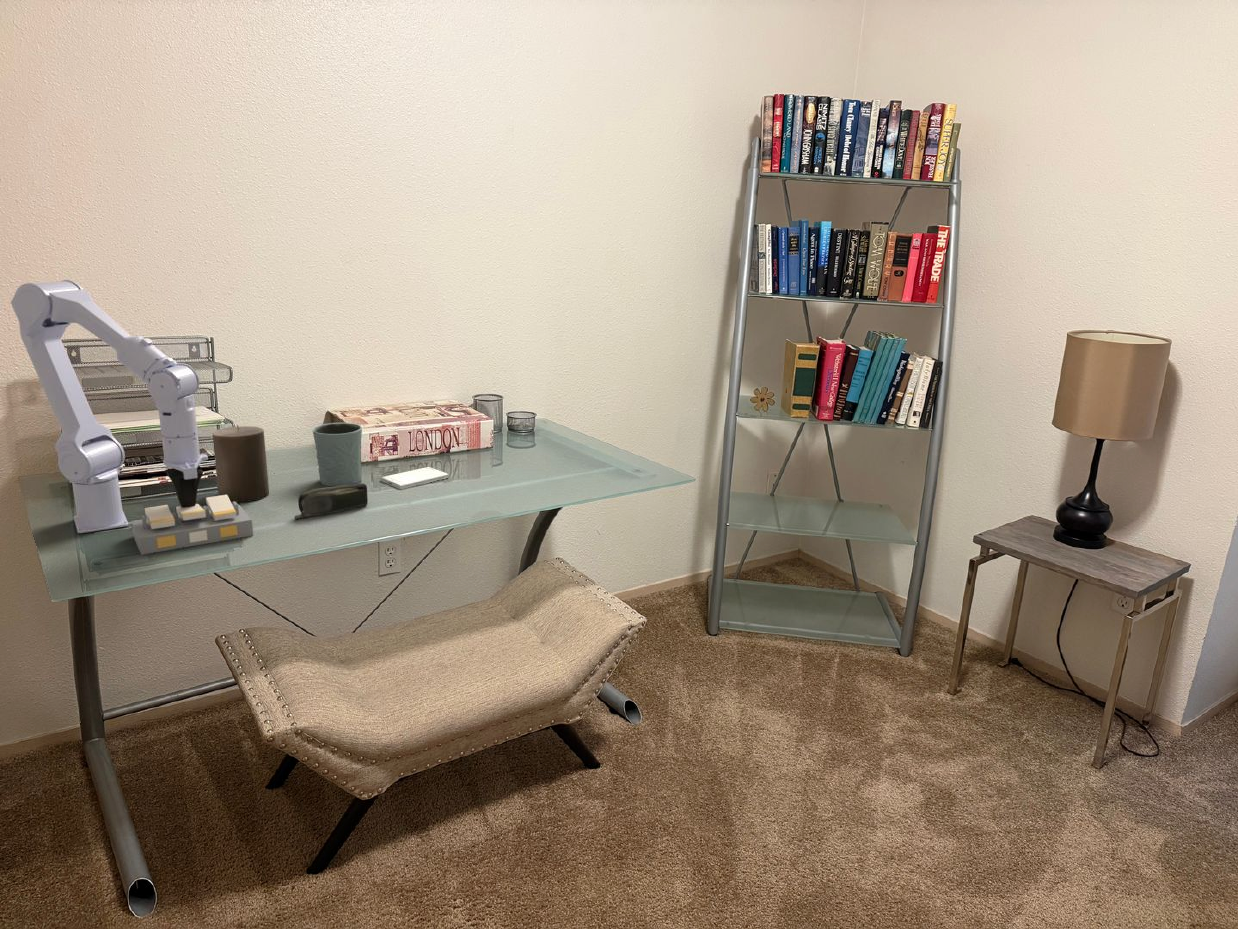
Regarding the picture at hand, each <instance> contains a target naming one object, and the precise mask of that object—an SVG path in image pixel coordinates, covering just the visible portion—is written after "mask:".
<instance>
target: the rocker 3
mask: <svg viewBox="0 0 1238 929" xmlns="http://www.w3.org/2000/svg"><path fill="white" fill-rule="evenodd" d="M205 502H206V504H207V505H206V506H207V507H208V508H209V509H210V511H211V513H212V516H213V518H214V520H215V521H216V520H222V519H229V518H235V517H236V511H235V509H234V507H233V502H231V501H230V499H229V497H228V495H221V496H219V495H216V496H208V497H205Z"/></svg>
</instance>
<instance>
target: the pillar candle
mask: <svg viewBox="0 0 1238 929" xmlns="http://www.w3.org/2000/svg"><path fill="white" fill-rule="evenodd" d="M211 434H212V443H213V452H214V461H215V462H214V463H215V474H216V475H215V476H216V486H217V492H218V496H221V495H228V497H229V499H230V501H231V503H233V502H235V501H236V503H246V502H252V501H256V500H257V501H258V500H262V499H264V498H266V497H268V496H269V494H270V485H269V476H268V475H269V474H268V463H267V453H266V452H267V451H266V441H265V440H266V439H265V431H264V428H262V427H259V426H254V425H253V426H251V425H248V426H247V425H243V426H242V425H239V424H237V425H236V426H231V427H230V426H229V427H224V428H220V429H215V430H213V431H212V433H211Z"/></svg>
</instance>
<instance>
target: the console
mask: <svg viewBox="0 0 1238 929" xmlns="http://www.w3.org/2000/svg"><path fill="white" fill-rule="evenodd" d="M232 505H233V507H234V509H235V511H236V517H235V518H229V519H222V520H216V521H215V520H214V518H213V516H212V513H211V511H210V509H209V507H208V505H203V506H202V509H203V510H205V513H206V517H203V518H197V519H191V520H183V519H182V518H181V517H180V515H179V514H178V512H177V509H176V510H172V516H173V518H174V520H175V526H169V527H162V528H156V529H152V528H151V526H150V523H149V521H148V519H147V516H146V514H142V515H141V519H135V520H134V519H133V520H131V527H132V528H131V529H132V536H133V539H134V541H135V544H136V546H137V549H138V551H139V553H140V555H147V554H154V552H155V553H160V552H165V551H171V550H177V548H178V549H183V547H184V548H190V547H194V546H201V545H205V544H207V545H208V544H210V543H218V542H223V541H228V540H235V539H241V538H242V539H243V538H247V537H252V536H254V531H253V529H254V528H253V520H252V518H251V517H250V516H249V514H247V512H246V511H245V510H244V509H243V508H242V506H241V505H240V504H238V502H236V501H235V502H232Z"/></svg>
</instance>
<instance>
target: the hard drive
mask: <svg viewBox="0 0 1238 929" xmlns="http://www.w3.org/2000/svg"><path fill="white" fill-rule="evenodd" d="M449 476H450V474H448V473H446V472H444V471H442V470H438V469H436V468H433V467H430V466H427V467H423V468H418V469H411V470H408V471H407V470H406V471H404V472H400V473H395V474H391V475H390V474H389V475H386V476H381V477H380V479H379V480H380V482H382V483H384V484H387V485H389V486H391V487H393V486H394V487H393V488H396V489H399V490H404V489H409V488H408V487H410V488H413V487H412V486H414V487H417V486H416V485H418V486H421V485H427V484H431V483H430V482H432V483H434V482H433V481H436V480H439V479H445V480H447V479H446V478H450V477H449ZM436 482H437V481H436Z"/></svg>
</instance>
